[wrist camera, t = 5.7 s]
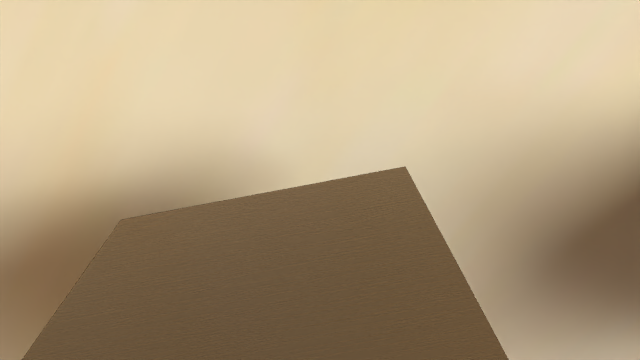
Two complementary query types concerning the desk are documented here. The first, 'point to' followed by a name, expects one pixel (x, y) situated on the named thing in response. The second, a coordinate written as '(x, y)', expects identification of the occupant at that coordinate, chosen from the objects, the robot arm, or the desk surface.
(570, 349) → the desk surface
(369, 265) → the shaft
